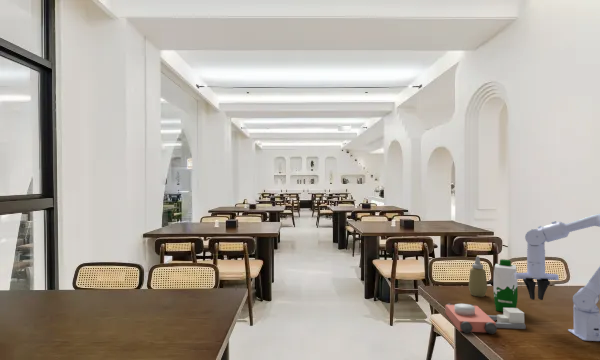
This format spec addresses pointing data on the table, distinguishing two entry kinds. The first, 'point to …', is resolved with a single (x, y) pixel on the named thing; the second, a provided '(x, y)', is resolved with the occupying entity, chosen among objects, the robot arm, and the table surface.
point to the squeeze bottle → (477, 279)
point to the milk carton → (505, 285)
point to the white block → (511, 316)
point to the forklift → (476, 319)
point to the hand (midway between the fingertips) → (536, 299)
